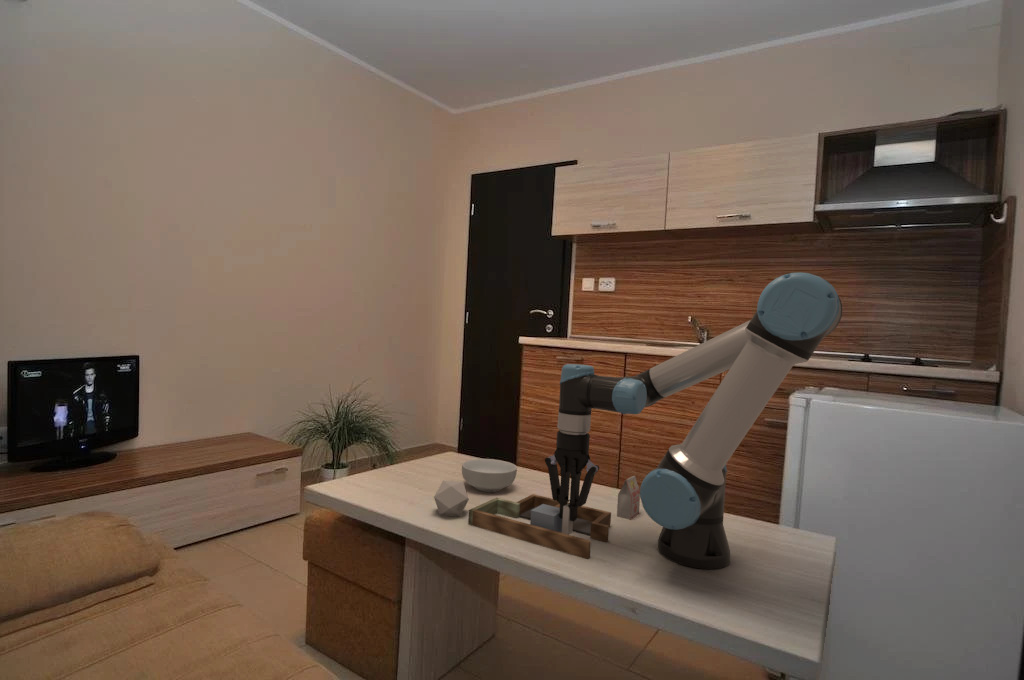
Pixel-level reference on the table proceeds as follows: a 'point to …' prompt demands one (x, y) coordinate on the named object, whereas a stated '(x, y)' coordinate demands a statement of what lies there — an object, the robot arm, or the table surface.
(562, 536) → the wooden compartment tray
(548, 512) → the slate block
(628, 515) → the gable top carton
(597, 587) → the table surface
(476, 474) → the cereal bowl
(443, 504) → the die
